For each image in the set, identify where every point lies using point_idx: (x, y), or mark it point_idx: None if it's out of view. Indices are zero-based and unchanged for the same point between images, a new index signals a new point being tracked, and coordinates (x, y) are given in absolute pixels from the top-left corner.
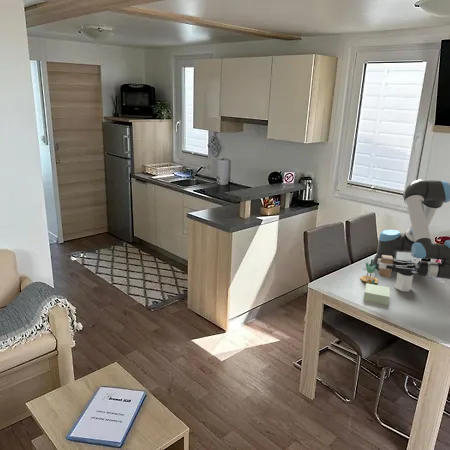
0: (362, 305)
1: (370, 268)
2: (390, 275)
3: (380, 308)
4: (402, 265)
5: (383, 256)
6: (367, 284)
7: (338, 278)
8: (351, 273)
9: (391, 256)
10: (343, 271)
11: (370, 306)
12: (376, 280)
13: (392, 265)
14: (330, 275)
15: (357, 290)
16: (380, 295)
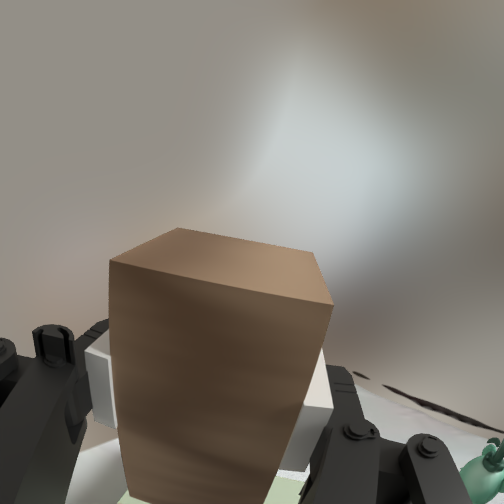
0: (110, 441)
1: (466, 474)
2: (126, 481)
3: (67, 497)
4: (8, 490)
5: (246, 243)
6: (286, 485)
7: (384, 424)
8: (463, 460)
9: (285, 289)
10: (460, 437)
11: (95, 466)
12: None
13: (90, 359)
14: (395, 405)
15: (284, 475)
16: (120, 502)
